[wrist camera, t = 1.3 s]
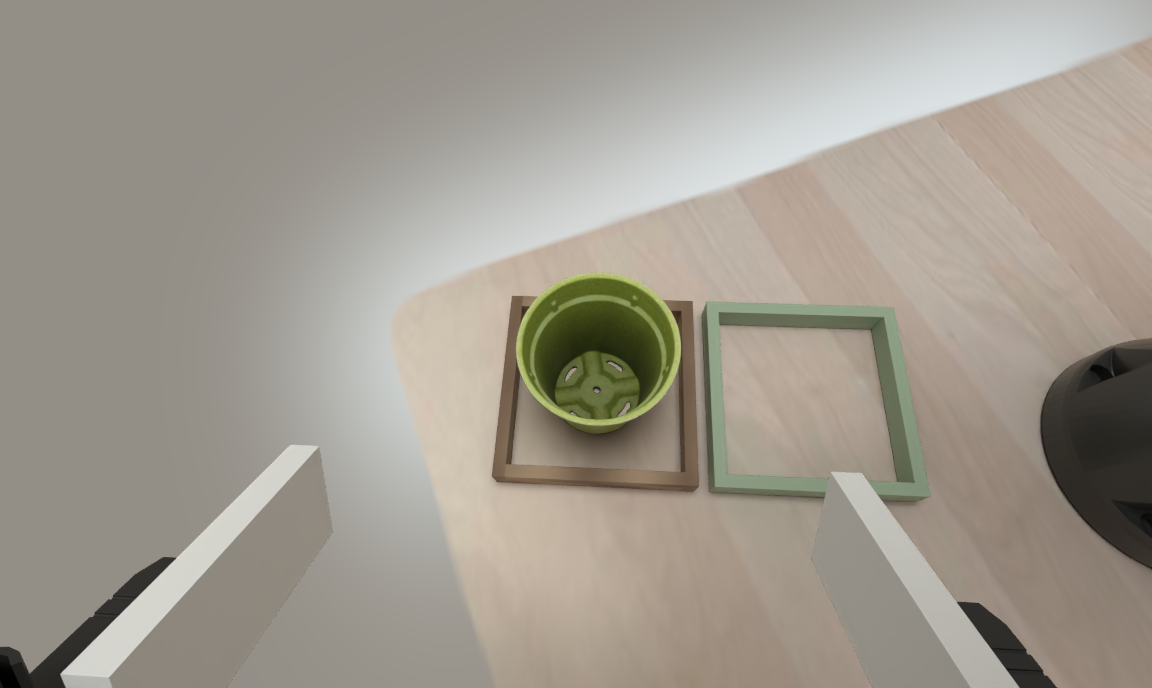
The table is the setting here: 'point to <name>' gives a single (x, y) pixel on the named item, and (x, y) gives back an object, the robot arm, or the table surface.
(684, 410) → the walnut collar
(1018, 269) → the table surface
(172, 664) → the robot arm
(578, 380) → the plant pot
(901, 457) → the sage green collar
